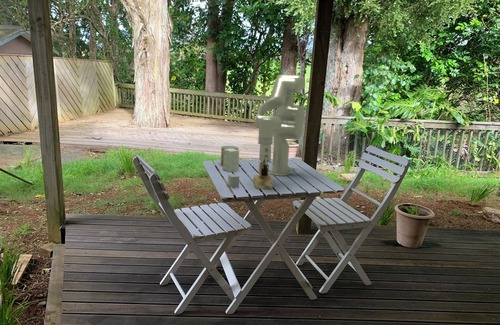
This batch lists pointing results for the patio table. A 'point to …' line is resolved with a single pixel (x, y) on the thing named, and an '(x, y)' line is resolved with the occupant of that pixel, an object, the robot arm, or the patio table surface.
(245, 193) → the patio table surface
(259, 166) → the terracotta block
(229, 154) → the small box
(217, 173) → the patio table surface
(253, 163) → the patio table surface
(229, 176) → the slate block
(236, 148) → the canned food
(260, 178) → the tan square tray
